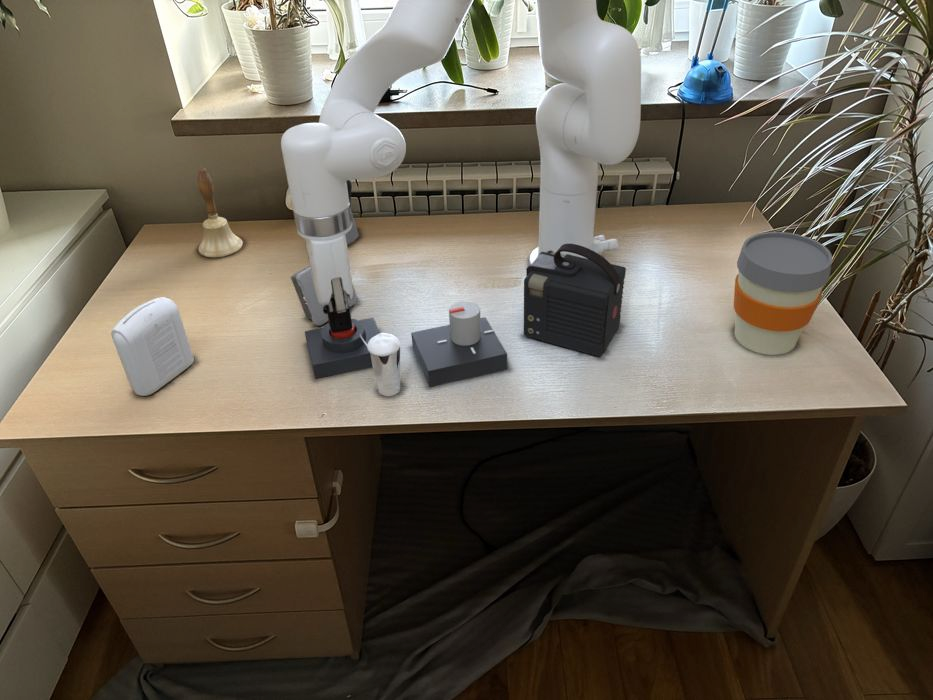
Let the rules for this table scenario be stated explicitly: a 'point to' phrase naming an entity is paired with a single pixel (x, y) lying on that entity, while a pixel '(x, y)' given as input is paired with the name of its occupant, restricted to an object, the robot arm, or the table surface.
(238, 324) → the table surface
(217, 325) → the table surface
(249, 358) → the table surface
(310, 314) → the electrical switch
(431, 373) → the panel
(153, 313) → the photo printer
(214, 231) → the hand bell
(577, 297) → the camera
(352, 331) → the power button
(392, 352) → the milkshake
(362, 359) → the power housing
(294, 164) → the robot arm
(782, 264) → the reusable coffee cup
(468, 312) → the dial
